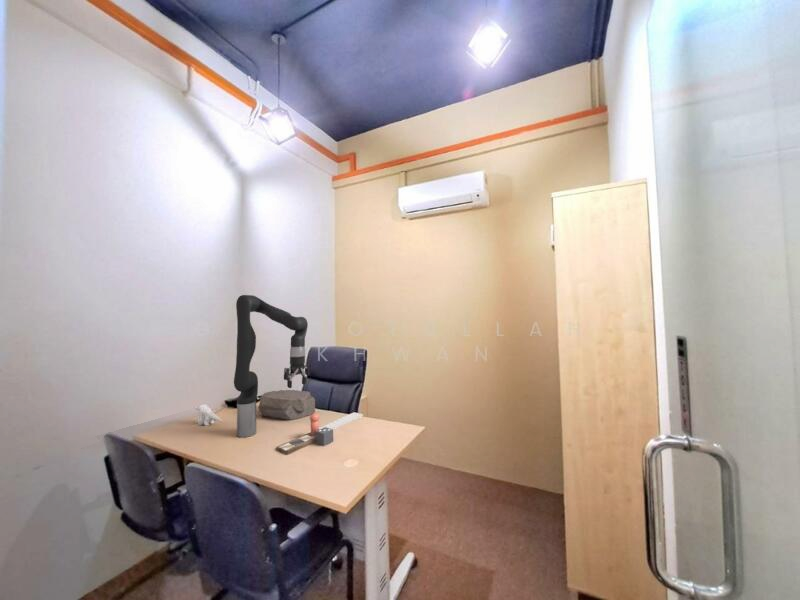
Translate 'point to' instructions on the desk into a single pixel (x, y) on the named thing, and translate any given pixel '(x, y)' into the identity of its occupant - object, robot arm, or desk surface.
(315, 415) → the pawn
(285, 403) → the stone
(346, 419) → the baseboard
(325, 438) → the die
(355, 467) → the desk surface
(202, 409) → the white dinosaur figurine
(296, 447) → the game strip
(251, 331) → the robot arm
